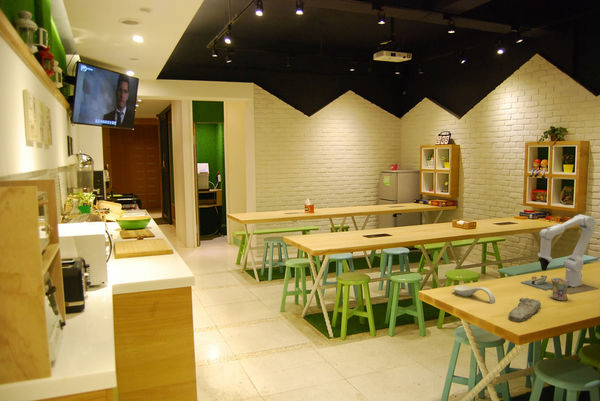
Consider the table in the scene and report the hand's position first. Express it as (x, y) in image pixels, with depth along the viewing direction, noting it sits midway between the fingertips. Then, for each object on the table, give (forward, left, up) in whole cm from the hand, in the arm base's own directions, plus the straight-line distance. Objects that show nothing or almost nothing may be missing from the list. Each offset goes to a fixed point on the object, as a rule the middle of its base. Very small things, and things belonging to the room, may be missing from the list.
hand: (543, 270), depth 279 cm
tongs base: (+1, -3, -8) cm, 9 cm away
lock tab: (0, -6, -8) cm, 10 cm away
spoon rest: (+58, -4, -10) cm, 59 cm away
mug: (+16, +19, -10) cm, 27 cm away
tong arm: (+1, -1, -8) cm, 8 cm away
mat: (+2, 0, -9) cm, 9 cm away
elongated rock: (+54, +25, -10) cm, 60 cm away
